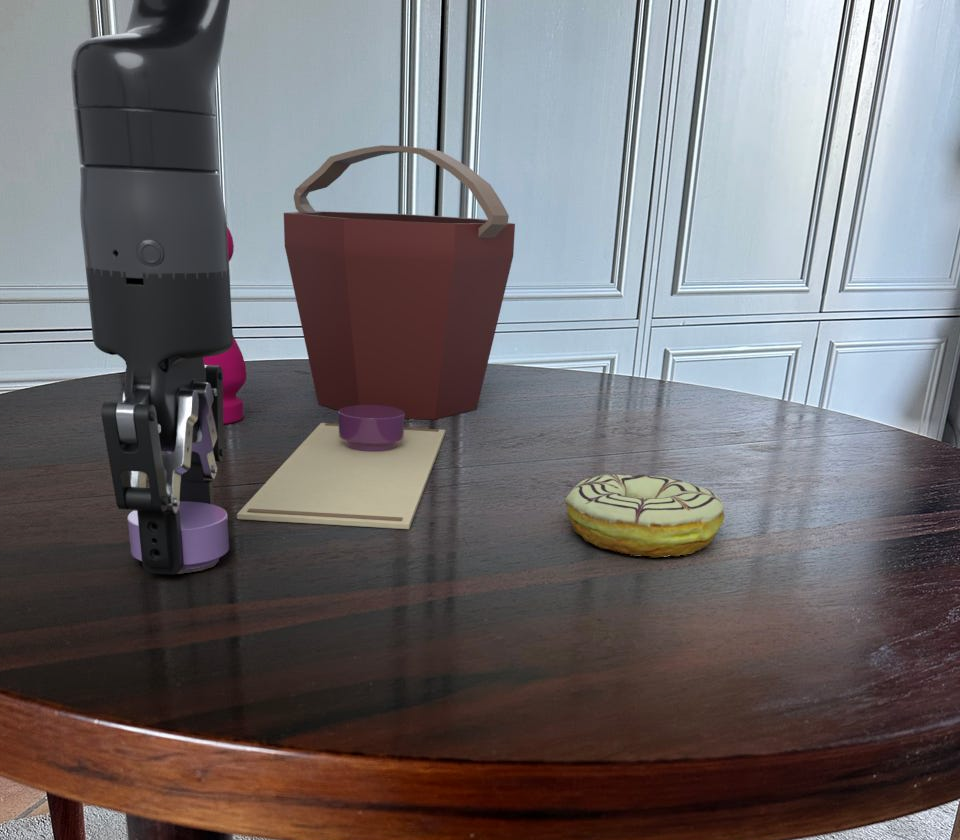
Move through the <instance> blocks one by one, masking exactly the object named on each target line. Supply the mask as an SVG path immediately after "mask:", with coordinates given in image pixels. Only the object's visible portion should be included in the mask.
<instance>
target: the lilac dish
mask: <svg viewBox="0 0 960 840" xmlns="http://www.w3.org/2000/svg"><path fill="white" fill-rule="evenodd" d="M178 510H180V522H181V535H182V548H183V561H184V566H183V568H182V569H181V570H188V569H195V568H200V567H205V566H208V565H211V564H213V563H215V562H217V561H218V560H219V559H220V560H221V558H222V557H223V556H225V555H226V554H227V553H228V552H229V550H230V535H229V534H230V533H229V519H228V518H229V515H228V511H227V510H225V509H224V508H223V507H220V506H218V505H216V504H214V505H212V504H208V503H201V502H188V501H180V505H179V508H178ZM126 522H127V530H128V531H127V532H128V541H129V551H130V555H131V556H132V557H133V558H134V559H136V560H138V561H140V562H142V556H141V546H140V535H139V525H138V514H137V511H133V510H131V511H130V512H128V515H127V517H126Z"/></svg>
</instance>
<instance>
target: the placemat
mask: <svg viewBox="0 0 960 840" xmlns="http://www.w3.org/2000/svg"><path fill="white" fill-rule="evenodd" d="M445 435H446V429H440V428H439V429H437V428H420V427H405V437H404V439H402V440H400V441H398V446H397V448H395V449H392V450H388V451H377V452H371V451H359V450H354V449H351V448H348V447H347V446H346V444H345V440H343V439H341V438H340V437H339V432H338V423H333V422H332V423H330V422H320V423H319V424H318V426H316V428H314V430H313V431H312V432H311V433H310V434H309V435H308V436H307V437H306V439H304V441H302V443H301V444H300V445H299V446H298V447H297V448H296V449H295V450H294V452H293V453H292V454H291V455H290V456H289V457H288V458H287V459H286V460H285V461H284V463H282V464H281V466H280V467H279V468H278V469H277V470H276V471H275V472H274V473H273V474H272V475H271V477H269V479H268V480H267V481H266V482H265V483H264V484H263V485H262V486H261V487H260V488H259V489H258V490H257V492H256V493H255V494H254V495H253V496H252V497H251V498H250V499H249V501H247V502H246V503H245V504H244V506H243V507H242V508H241V509H240V510H239V511H238V512H237V513H236V519H237V520H243V521H244V520H245V521H260V522H261V521H262V522H277V523H279V522H280V523H294V524H310V525H312V524H313V525H329V526H330V525H331V526H346V527H361V528H362V527H364V528H380V529H395V530H397V529H399V530H410V528H411V526H412V523H413V521H414V518H415V515H416V512H417V509H418V507H419V504H420V502H421V499H422V497H423V494H424V491H425V488H426V486H427V483H428V481H429V478H430V476H431V473H432V470H433V467H434V464H435V462H436V460H437V457H438V454H439V451H440V449H441V446H442V444H443V440H444V439H445Z"/></svg>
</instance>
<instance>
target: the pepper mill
mask: <svg viewBox="0 0 960 840" xmlns="http://www.w3.org/2000/svg"><path fill="white" fill-rule="evenodd" d="M227 237H228V257H229V262H230V261H231V260H232V258H233V256H234V251H235V249H234V248H235V244H234V238H233V235H232V232H231V230H230V229H229V227H228V226H227ZM234 336H235V335H233V344H232V346H231V348H230V349H229V350H228V351H226V352H224V353H222V354H219V355H215V356H210V357H203V361H204V365H215V366H221V368H222V372H223V425H228V424H229V425H230V424H234V423H238V422H240V421H242V420H243V418H244V402H243V399H242V398H240V397H238V396H237V394H238V393H239V391H240V390H241V389H242V388H243V386H244V385H245V384H246V381H247V378H248V377H247V375H248V374H247V367H246V363H245V359H244V356H243V352H242V351H241V348H240V346H239V345H238V342H237V340H236V338H235V337H234Z"/></svg>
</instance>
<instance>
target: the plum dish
mask: <svg viewBox="0 0 960 840" xmlns="http://www.w3.org/2000/svg"><path fill="white" fill-rule="evenodd" d="M337 416H338V418H337V420H338V421H337V422H338V423H337V424H338V432H339V437H340V438H341V439H343V440H345V444H346V446H347V447H348V448H351V449H354V450H359V451H371V452H377V451H388V450H392V449H395V448H397V446H398V441H400V440H402V439H404V437H405V428H406V427H405V426H406V419H405V412H404V411H403V410H401V409H398V408H394V407H389V406H381V405H355V406H348V407H344V408H341V409H340V410H337Z"/></svg>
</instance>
